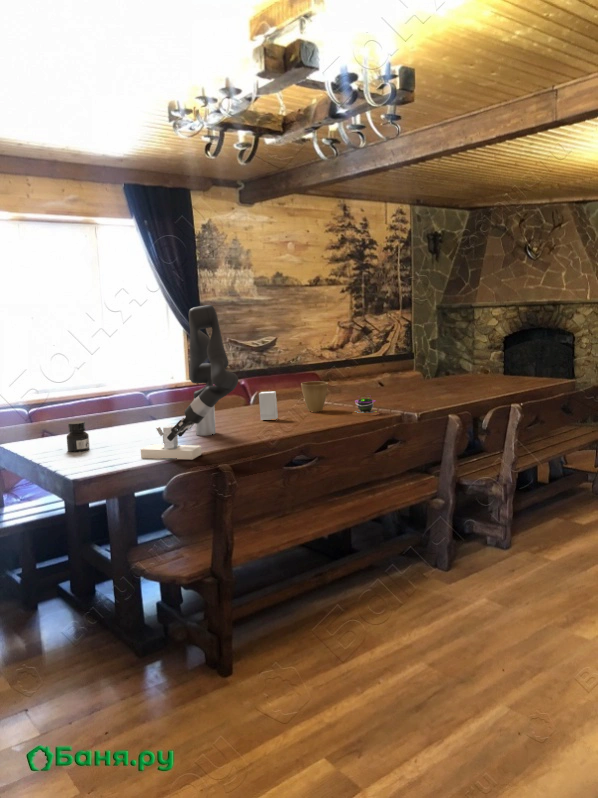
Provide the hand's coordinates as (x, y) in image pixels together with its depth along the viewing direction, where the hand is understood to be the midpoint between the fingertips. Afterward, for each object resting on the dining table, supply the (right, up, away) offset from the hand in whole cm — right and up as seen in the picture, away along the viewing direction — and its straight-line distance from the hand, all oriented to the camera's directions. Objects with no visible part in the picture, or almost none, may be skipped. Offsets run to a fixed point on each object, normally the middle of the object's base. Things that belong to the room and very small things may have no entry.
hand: (173, 437), depth 251 cm
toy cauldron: (+86, +7, +89) cm, 124 cm away
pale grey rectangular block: (-1, -8, +2) cm, 8 cm away
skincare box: (+34, +4, +78) cm, 85 cm away
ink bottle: (-44, -7, +19) cm, 49 cm away
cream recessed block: (-1, -8, +2) cm, 8 cm away
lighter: (-9, -5, +27) cm, 29 cm away
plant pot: (+59, +8, +101) cm, 117 cm away
